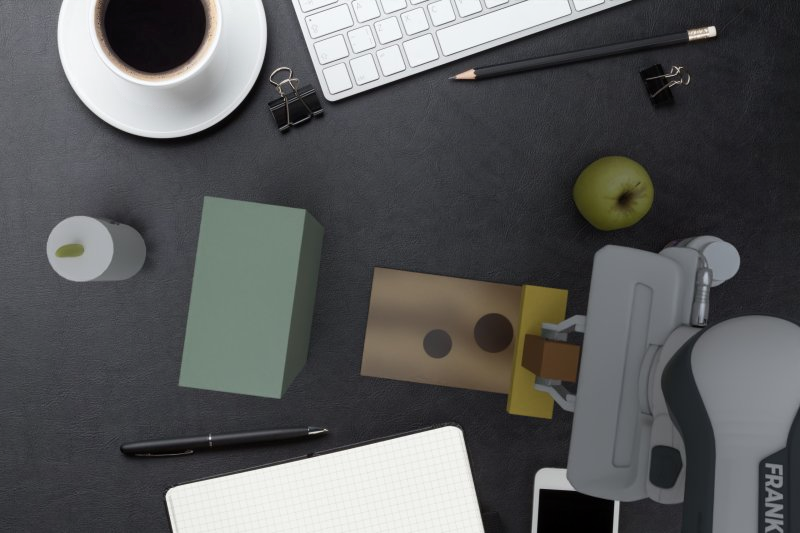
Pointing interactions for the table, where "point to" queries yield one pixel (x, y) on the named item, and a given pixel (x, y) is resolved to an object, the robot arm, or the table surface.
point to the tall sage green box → (251, 297)
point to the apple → (613, 193)
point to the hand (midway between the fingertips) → (541, 355)
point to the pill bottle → (713, 255)
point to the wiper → (539, 352)
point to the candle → (95, 249)
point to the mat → (441, 330)
